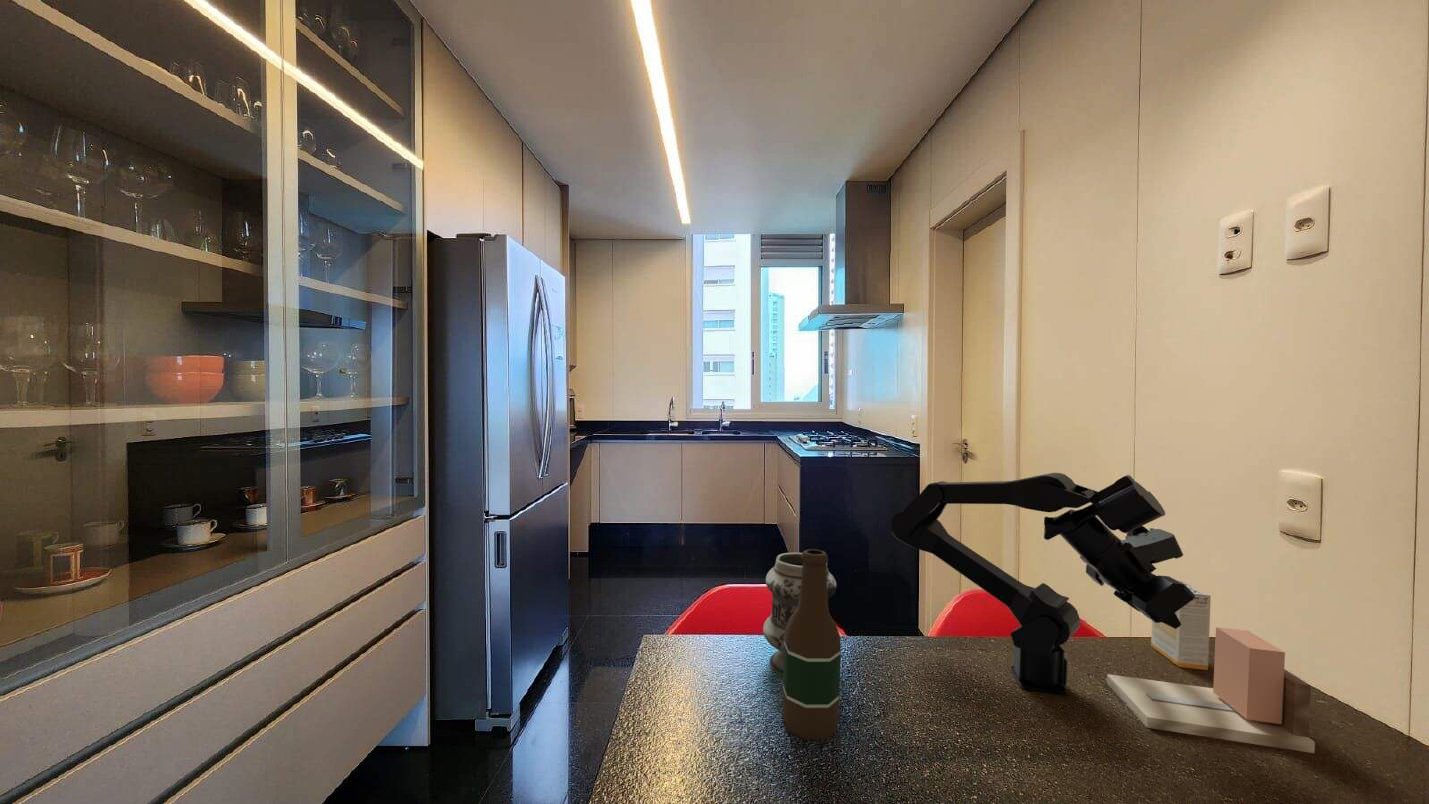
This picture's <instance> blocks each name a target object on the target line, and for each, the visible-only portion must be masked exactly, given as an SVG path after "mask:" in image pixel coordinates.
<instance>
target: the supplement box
mask: <svg viewBox="0 0 1429 804" xmlns="http://www.w3.org/2000/svg"><path fill="white" fill-rule="evenodd" d="M1176 580H1177V579H1176ZM1177 581H1179V582H1181V583H1183V584H1184V585H1185V586H1186V587H1188V588H1189V589H1190V590H1191V591H1192V592H1193V593H1194V594H1195V597H1194V599H1193V600H1192V601H1191V602H1189V603H1188V604H1186V605H1185V606H1184V607H1182V608H1181V609H1179V610H1178V611H1177V612H1175V614H1176V615H1177V617H1178V619H1179V621H1180V623H1181V626H1180V627H1178V628H1177V629H1174V628H1172V627H1170V626H1168V625H1166V624H1164V623H1162V622H1159V623H1155V622H1154V621H1152V620H1151V638H1150V639H1151V641H1150V646H1151V648H1152V649H1154V650H1155V651H1157V652H1158V653H1160V654H1161V655H1162V656H1164V657H1165V658H1166V659H1168V660H1169V661H1171V663H1173V664H1174V665H1176V666H1177V667H1179V668H1183V669H1184V668H1186V669H1193V670H1194V669H1195V670H1204V671H1208V669H1209V657H1210V656H1209V655H1210V625H1211V603H1212V602H1211V595H1210V594H1209V593H1207V592H1204V591H1202V590H1201V589H1198V588H1196V587H1195V586H1192V585H1191V584H1188V583H1187V582H1184V581H1182V580H1179V579H1178V580H1177Z"/></svg>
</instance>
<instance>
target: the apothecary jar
mask: <svg viewBox="0 0 1429 804" xmlns="http://www.w3.org/2000/svg"><path fill="white" fill-rule="evenodd" d="M801 555H802V552H785V553H781V554H778V555H777V556H776V558H775V564H774V566H773V567H772V568H770V570H769V571H768V572H767V574H766V576H765V584H766V588H767V589H768V590H769V591H770V593H771V594H772V595H771V596H772V598H771V600H772V601H771V611H770V613H771V614H770V615H769V616H768V617H767V618H766V620H765V622H764V623H763V627H762V630H763V631H762V632H763V636H764V638H765V640H766V641H767V642H768V644H769V645H770V646H772V647H773V648H774V649H775V650H777V651H776V652H774V653H773V654H772V655H771V656H770V658H769V666H770V668H771V669H772V670H773V671H774V672H775V673H776V674H778V675H779V676H782V677H783V663H784V637H785V628H786V626H787V623H788V621H789V618H790V617H791V615H792V614H793V613H794V611H795V610H796V609H797V607H798V602H799V598H800V588H801V577H802V566H803V560H802V559H801ZM826 573H827V602H828V609H829V605H830V604H829V603H830V602H829V601H830V598H831V597H832V596H833V595H834V594H835V593H836V591H837V581H836V579H835V577H834V575H833V574H832V573H831V572H830V571H829V568H828V562H827V563H826ZM829 610H830V609H829Z"/></svg>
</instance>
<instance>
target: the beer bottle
mask: <svg viewBox="0 0 1429 804" xmlns="http://www.w3.org/2000/svg"><path fill="white" fill-rule="evenodd" d="M801 553H802V555H801V559H802V560H803V566H802V577H801V588H800V598H799V602H798V607H797V609H796V610H795V611H794V613H793V614H792V615H791V617H790V618H789V621H788V623H787V626H786V628H785V637H784V663H783V676H782V701H781V702H782V704H781V706H782V718H783V721H784V725H785V727H786V730H787V732H789V733H791V734H792V735H794V736H795V737H796V736H797V737H798V738H800V739H802V740H804V741H826V740H828V739H829V738H830V737H831V736H832V735H833V734H835V732H836V731H837V730H838V727H839V718H840V687H841V655H842V649H841V648H842V647H841V636H840V633H839V629H838V626H837V624H836V622H835V620H834V619H833V617H832V615H831V614H830V609H828V602H827V573H826V563H827V564H828V562H829V556H828V554H827V553H826V552H825V551H824V550H820V549H817V548H815V549H814V548H810V549H806V550H803V551H802V552H801Z"/></svg>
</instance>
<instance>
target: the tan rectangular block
mask: <svg viewBox="0 0 1429 804" xmlns="http://www.w3.org/2000/svg"><path fill="white" fill-rule="evenodd" d="M1214 640H1215V641H1214V643H1215V645H1214V663H1213V664H1214V666H1213V667H1214V668H1213V687H1212V688H1213V693H1215V694H1216V695H1217V696H1218V697H1220V698H1221V699H1222V700H1223V701H1225V702H1226V703H1227V704H1228V705H1229V706H1231V707H1232V708H1233V709H1234V710H1236V711H1237V712H1238V713H1239V714H1241V715H1242V716H1243V717H1244V718H1246V719H1248V720H1255V721H1262V722H1269V723H1276V724H1282V708H1283V686H1284V669H1285V663H1286V662H1285V661H1286V659H1285V658H1286V657H1285V656H1286V652H1285V651H1283V650H1282V649H1280V648H1278V647H1277V646H1275V645H1274V644H1272V643H1270V642H1269V641H1266V640H1265V639H1263V638H1261V637H1259V636H1258V635H1257V634H1255V633H1253V632H1252V631H1249V630H1245V629H1237V628H1228V627H1217V626H1216V627H1215V639H1214Z"/></svg>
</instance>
